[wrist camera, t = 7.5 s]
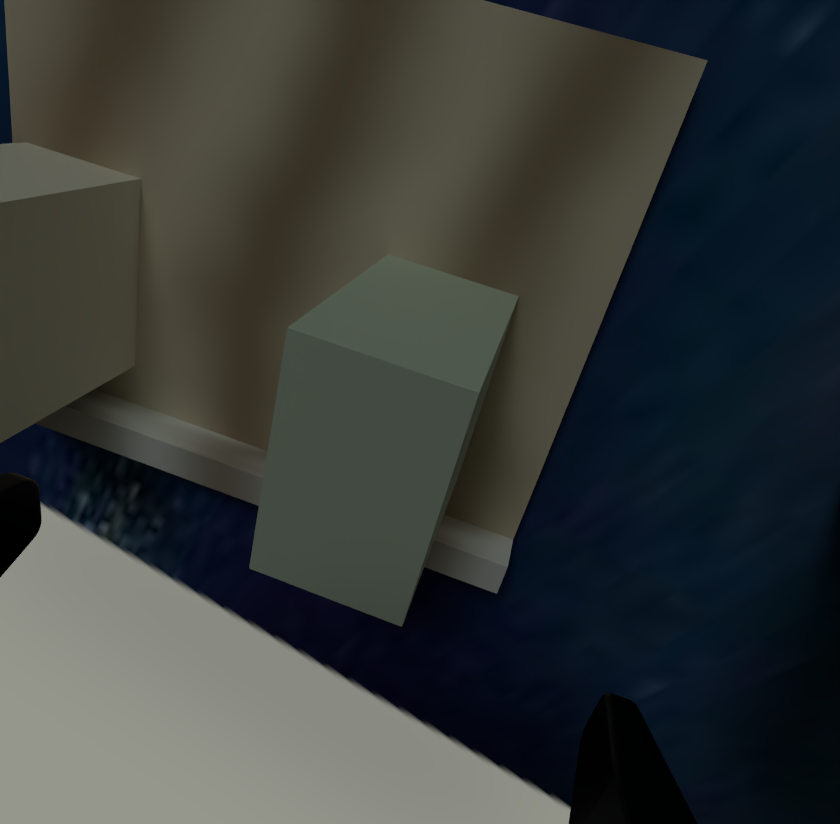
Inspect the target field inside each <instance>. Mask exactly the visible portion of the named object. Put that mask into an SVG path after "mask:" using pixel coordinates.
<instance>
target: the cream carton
mask: <svg viewBox="0 0 840 824" xmlns="http://www.w3.org/2000/svg"><path fill="white" fill-rule="evenodd" d="M140 193H141V179H140V178H137V177H134V176H131V175H128V174H125V173H121V172H118V171H115V170H112V169H109V168H106V167H102V166H99V165H96V164H93V163H90V162H87V161H84V160H80V159H77V158H74V157H71V156H68V155H65V154H62V153H58V152H55V151H52V150H49V149H46V148H43V147H40V146H36V145H33V144H30V143H27V142H24V143H10V144H0V443H1V442H3V441H4V440H6V439H8V438H10V437H11V436H13V435H15V434H17V433H18V432H20V431H22V430H24V429H25V428H27V427H29V426H31V425H32V424H34V423H36V422H38V421H39V420H41V419H43V418H45V417H46V416H48V415H50V414H52V413H53V412H55V411H57V410H59V409H60V408H62V407H64V406H66V405H67V404H69V403H71V402H73V401H74V400H76V399H78V398H80V397H81V396H83V395H85V394H87V393H88V392H90V391H92V390H94V389H95V388H97V387H99V386H101V385H102V384H104V383H106V382H108V381H109V380H111V379H113V378H115V377H116V376H118V375H120V374H122V373H123V372H125V371H127V370H129V369H130V368H132V367H134V366H135V349H136V318H137V287H138V256H139V225H140Z"/></svg>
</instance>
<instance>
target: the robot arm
mask: <svg viewBox="0 0 840 824" xmlns="http://www.w3.org/2000/svg"><path fill="white" fill-rule="evenodd" d="M40 525H41V507H40V493H39V486H38V484H37V483H36V481H34V480H32V479H30V478H27V477H24V476H21V475H19V474H16V473H5V474H0V577H1V576H2V574H4V572H5V571H6V570H7V569H8V568H9V567H10V565H11V564H12V563H13V562H14V561H15V560H16V558H17V557H18V556H19V555H20V554H21V553H22V551H23V550H24V549H25V548H26V547H27V546H28V544H29V543H30V542H31V541H32V540H33V538H34V537H35V536H36V534H37V533H38V531H39V528H40ZM569 824H697V822H696V820H695V818H694V817H693V815H692V813H691V811H690V809H689V807H688V805H687V803H686V801H685V799H684V797H683V795H682V793H681V791H680V789H679V787H678V785H677V783H676V781H675V779H674V777H673V775H672V773H671V771H670V769H669V767H668V765H667V763H666V761H665V760H664V758H663V756H662V754H661V752H660V750H659V748H658V746H657V744H656V742H655V740H654V738H653V736H652V734H651V732H650V730H649V728H648V726H647V724H646V722H645V720H644V718H643V716H642V714H641V712H640V710H639V708H638V707H637V705H636V704H635V703H634V702H633V701H631V700H629V699H626V698H623V697H620V696H618V695H615V694H612V693H605V694H604V695H603V696H602V697H601V698H600V700H599V702H598V704H597V706H596V707H595V709H594V711H593V713H592V715H591V717H590V718H589V720H588V722H587V724H586V726H585V728H584V730H583V733H582V736H581V741H580V746H579V753H578V761H577V768H576V775H575V783H574V790H573V797H572V804H571V812H570V820H569Z"/></svg>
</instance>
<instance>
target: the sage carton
mask: <svg viewBox="0 0 840 824" xmlns="http://www.w3.org/2000/svg"><path fill="white" fill-rule="evenodd" d="M518 297H519V296H517V295H513V294H510V293H507V292H504V291H501V290H498V289H495V288H492V287H489V286H485V285H482V284H479V283H476V282H473V281H470V280H467V279H464V278H460V277H457V276H454V275H451V274H448V273H445V272H442V271H439V270H436V269H432V268H429V267H426V266H423V265H420V264H417V263H414V262H411V261H408V260H404V259H401V258H398V257H395V256H392V255H389V254H388V255H386V256H385V257H384V258H382V259H381V260H379V261H378V262H377V263H375V264H374V265H373V266H371V267H370V268H368V269H367V270H366V271H364V272H363V273H362V274H360V275H359V276H357V277H356V278H355V279H353V280H352V281H351V282H349V283H348V284H347V285H345V286H344V287H342V288H341V289H340V290H338V291H337V292H336V293H334V294H333V295H331V296H330V297H329V298H327V299H326V300H325V301H323V302H322V303H320V304H319V305H318V306H316V307H315V308H314V309H312V310H311V311H309V312H308V313H307V314H305V315H304V316H303V317H301V318H300V319H298V320H297V321H296V322H294V323H293V324H292V325H290V326H289V327H287V332H286V338H285V344H284V351H283V357H282V363H281V370H280V376H279V382H278V389H277V395H276V401H275V408H274V414H273V421H272V427H271V433H270V440H269V446H268V452H267V459H266V465H265V471H264V478H263V484H262V490H261V497H260V503H259V509H258V516H257V522H256V528H255V535H254V541H253V547H252V554H251V560H250V566H249V568H250V569H252V570H255V571H258V572H260V573H263V574H265V575H268V576H271V577H273V578H276V579H278V580H281V581H284V582H286V583H289V584H291V585H294V586H297V587H299V588H302V589H304V590H307V591H310V592H312V593H315V594H317V595H320V596H323V597H325V598H328V599H331V600H333V601H336V602H338V603H341V604H344V605H346V606H349V607H351V608H354V609H357V610H359V611H362V612H364V613H367V614H370V615H372V616H375V617H377V618H380V619H383V620H385V621H388V622H390V623H393V624H396V625H398V626H401V627H402V625H403V622H404V620H405V617H406V614H407V612H408V609H409V606H410V604H411V601H412V598H413V596H414V593H415V590H416V588H417V585H418V582H419V580H420V577H421V574H422V572H423V569H424V566H425V564H426V561H427V558H428V556H429V553H430V550H431V548H432V545H433V542H434V540H435V537H436V534H437V532H438V529H439V526H440V524H441V521H442V518H443V516H444V513H445V510H446V508H447V505H448V502H449V500H450V497H451V494H452V491H453V489H454V486H455V483H456V481H457V478H458V475H459V472H460V469H461V466H462V463H463V460H464V457H465V454H466V451H467V448H468V445H469V443H470V440H471V437H472V434H473V431H474V428H475V425H476V422H477V419H478V416H479V413H480V410H481V407H482V404H483V401H484V398H485V395H486V392H487V389H488V386H489V383H490V380H491V377H492V374H493V371H494V368H495V365H496V362H497V359H498V356H499V353H500V350H501V347H502V344H503V342H504V339H505V336H506V333H507V330H508V327H509V324H510V321H511V318H512V315H513V312H514V309H515V306H516V303H517V300H518Z"/></svg>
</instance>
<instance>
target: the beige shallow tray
mask: <svg viewBox="0 0 840 824" xmlns="http://www.w3.org/2000/svg"><path fill="white" fill-rule="evenodd" d="M4 3H5V20H6V37H7V54H8V71H9V88H10V105H11V122H12V139H13V143H24V142H27V143H30V144H33V145H36V146H40V147H43V148H46V149H49V150H52V151H55V152H58V153H62V154H65V155H68V156H71V157H74V158H77V159H80V160H84V161H87V162H90V163H93V164H96V165H99V166H102V167H106V168H109V169H112V170H115V171H118V172H121V173H125V174H128V175H131V176H134V177H137V178H140V179H141V193H140V225H139V256H138V287H137V318H136V349H135V366H134V367H132V368H130V369H129V370H127V371H125V372H123V373H122V374H120V375H118V376H116V377H115V378H113V379H111V380H109V381H108V382H106V383H104V384H102V385H101V386H99V387H97V388H95V389H94V390H92V391H90V392H88V393H87V394H85V395H83V396H81V397H80V398H78V399H76V400H74V401H73V402H71V403H69V404H67V405H66V406H64V407H62V408H60V409H59V410H57V411H55V412H53V413H52V414H50V415H48V416H46V417H45V418H43V419H41V420H39V421H38V422H36V424H38V425H41V426H44V427H46V428H49V429H52V430H55V431H57V432H60V433H63V434H65V435H68V436H71V437H73V438H76V439H79V440H82V441H84V442H87V443H90V444H92V445H95V446H98V447H101V448H103V449H106V450H109V451H111V452H114V453H117V454H120V455H122V456H125V457H128V458H130V459H133V460H136V461H138V462H141V463H144V464H147V465H149V466H152V467H155V468H157V469H160V470H163V471H166V472H168V473H171V474H174V475H176V476H179V477H182V478H185V479H187V480H190V481H193V482H195V483H198V484H201V485H203V486H206V487H209V488H212V489H214V490H217V491H220V492H222V493H225V494H228V495H231V496H233V497H236V498H239V499H241V500H244V501H247V502H250V503H252V504H255V505H258V506H259V503H260V497H261V490H262V484H263V478H264V471H265V465H266V459H267V452H268V446H269V440H270V433H271V427H272V421H273V414H274V408H275V401H276V395H277V389H278V382H279V376H280V370H281V363H282V357H283V351H284V344H285V338H286V332H287V327H289V326H290V325H292V324H293V323H294V322H296V321H297V320H298V319H300V318H301V317H303V316H304V315H305V314H307V313H308V312H309V311H311V310H312V309H314V308H315V307H316V306H318V305H319V304H320V303H322V302H323V301H325V300H326V299H327V298H329V297H330V296H331V295H333V294H334V293H336V292H337V291H338V290H340V289H341V288H342V287H344V286H345V285H347V284H348V283H349V282H351V281H352V280H353V279H355V278H356V277H357V276H359V275H360V274H362V273H363V272H364V271H366V270H367V269H368V268H370V267H371V266H373V265H374V264H375V263H377V262H378V261H379V260H381V259H382V258H384V257H385V256H386V255H388V254H389V255H392V256H395V257H398V258H401V259H404V260H408V261H411V262H414V263H417V264H420V265H423V266H426V267H429V268H432V269H436V270H439V271H442V272H445V273H448V274H451V275H454V276H457V277H460V278H464V279H467V280H470V281H473V282H476V283H479V284H482V285H485V286H489V287H492V288H495V289H498V290H501V291H504V292H507V293H510V294H513V295H517V296H519V297H518V300H517V303H516V306H515V309H514V312H513V315H512V318H511V321H510V324H509V327H508V330H507V333H506V336H505V339H504V342H503V344H502V347H501V350H500V353H499V356H498V359H497V362H496V365H495V368H494V371H493V374H492V377H491V380H490V383H489V386H488V389H487V392H486V395H485V398H484V401H483V404H482V407H481V410H480V413H479V416H478V419H477V422H476V425H475V428H474V431H473V434H472V437H471V440H470V443H469V445H468V448H467V451H466V454H465V457H464V460H463V463H462V466H461V469H460V472H459V475H458V478H457V481H456V483H455V486H454V489H453V491H452V494H451V497H450V500H449V502H448V505H447V508H446V510H445V513H444V516H443V518H442V521H441V524H440V526H439V529H438V532H437V534H436V537H435V540H434V542H433V545H432V548H431V550H430V553H429V556H428V558H427V561H426V564H425V566H424V567H426V568H428V569H431V570H434V571H436V572H439V573H442V574H445V575H447V576H450V577H453V578H455V579H458V580H461V581H463V582H466V583H469V584H472V585H474V586H477V587H480V588H482V589H485V590H488V591H491V592H493V593H496V594H497V592H498V590H499V587H500V585H501V582H502V580H503V577H504V575H505V573H506V570H507V568H508V563H509V558H510V553H511V548H512V543H513V539H514V536H515V534H516V531H517V529H518V526H519V524H520V521H521V519H522V516H523V514H524V511H525V509H526V507H527V504H528V502H529V499H530V497H531V494H532V492H533V489H534V487H535V484H536V482H537V479H538V477H539V474H540V472H541V470H542V467H543V465H544V462H545V460H546V457H547V455H548V452H549V450H550V447H551V445H552V442H553V440H554V438H555V435H556V433H557V430H558V428H559V425H560V423H561V420H562V418H563V415H564V413H565V410H566V408H567V405H568V403H569V401H570V398H571V396H572V393H573V391H574V388H575V386H576V383H577V381H578V378H579V376H580V373H581V371H582V369H583V366H584V364H585V361H586V359H587V356H588V354H589V351H590V349H591V346H592V344H593V341H594V339H595V336H596V334H597V332H598V329H599V327H600V324H601V322H602V319H603V317H604V314H605V312H606V309H607V307H608V304H609V302H610V300H611V297H612V295H613V292H614V290H615V287H616V285H617V282H618V280H619V277H620V275H621V272H622V270H623V268H624V265H625V263H626V260H627V258H628V255H629V253H630V250H631V248H632V245H633V243H634V240H635V238H636V235H637V233H638V231H639V228H640V226H641V223H642V221H643V218H644V216H645V213H646V211H647V208H648V206H649V203H650V201H651V199H652V196H653V194H654V191H655V189H656V186H657V184H658V181H659V179H660V176H661V174H662V171H663V169H664V166H665V164H666V162H667V159H668V157H669V154H670V152H671V149H672V147H673V144H674V142H675V139H676V137H677V134H678V132H679V130H680V127H681V125H682V122H683V120H684V117H685V115H686V112H687V110H688V107H689V105H690V102H691V100H692V98H693V95H694V93H695V90H696V88H697V85H698V83H699V80H700V78H701V75H702V73H703V70H704V68H705V65H706V63H707V60H703V59H700V58H696V57H692V56H688V55H685V54H681V53H677V52H674V51H670V50H666V49H662V48H659V47H655V46H651V45H648V44H644V43H640V42H636V41H633V40H629V39H625V38H621V37H618V36H614V35H610V34H607V33H603V32H599V31H595V30H592V29H588V28H584V27H581V26H577V25H573V24H569V23H566V22H562V21H558V20H554V19H551V18H547V17H543V16H540V15H536V14H532V13H528V12H525V11H521V10H517V9H514V8H510V7H506V6H502V5H499V4H495V3H491V2H487V1H484V0H4Z"/></svg>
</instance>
